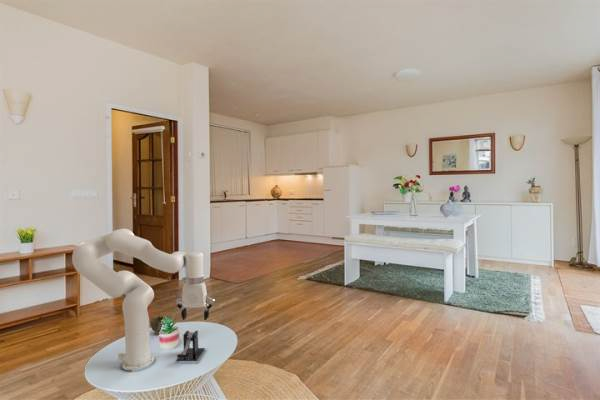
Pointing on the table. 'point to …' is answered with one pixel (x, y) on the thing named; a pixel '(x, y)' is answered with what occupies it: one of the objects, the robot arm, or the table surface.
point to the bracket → (194, 351)
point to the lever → (186, 347)
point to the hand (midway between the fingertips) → (195, 318)
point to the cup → (156, 324)
